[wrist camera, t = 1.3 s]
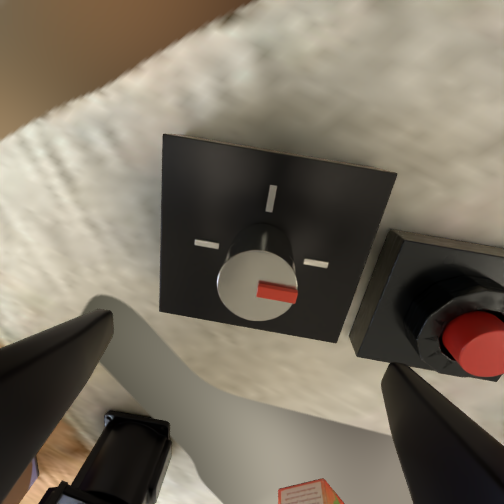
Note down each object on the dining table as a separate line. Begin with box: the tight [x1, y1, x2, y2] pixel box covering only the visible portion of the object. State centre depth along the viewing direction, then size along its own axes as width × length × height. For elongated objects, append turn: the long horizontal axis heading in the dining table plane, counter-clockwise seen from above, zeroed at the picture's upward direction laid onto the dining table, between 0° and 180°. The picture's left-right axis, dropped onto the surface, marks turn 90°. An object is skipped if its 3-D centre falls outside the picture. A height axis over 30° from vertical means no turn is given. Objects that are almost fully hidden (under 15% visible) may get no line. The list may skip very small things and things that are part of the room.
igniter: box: [442, 311, 504, 377], centre depth 15 cm, size 3×3×2 cm
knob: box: [217, 224, 298, 321], centre depth 13 cm, size 4×4×4 cm
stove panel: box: [159, 134, 397, 343], centre depth 17 cm, size 12×11×3 cm
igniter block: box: [349, 229, 504, 382], centre depth 17 cm, size 10×9×4 cm
